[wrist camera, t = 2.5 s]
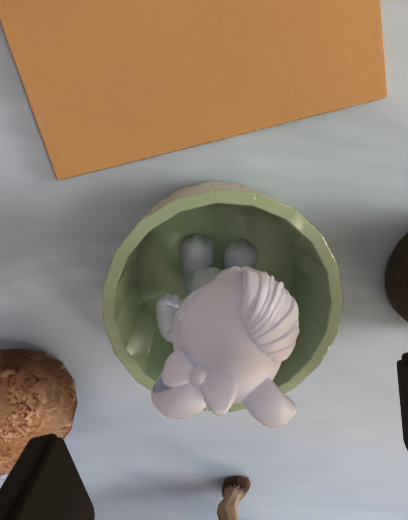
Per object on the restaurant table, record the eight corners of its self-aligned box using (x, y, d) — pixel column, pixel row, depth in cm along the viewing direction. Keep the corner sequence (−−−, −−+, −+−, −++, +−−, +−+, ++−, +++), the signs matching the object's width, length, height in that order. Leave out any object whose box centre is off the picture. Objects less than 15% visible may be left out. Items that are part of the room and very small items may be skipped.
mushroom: (18, 493, 23) (-32, 528, 17) (-48, 407, 25) (-115, 413, 19) (108, 402, 26) (91, 407, 20) (43, 329, 27) (9, 313, 21)
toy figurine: (275, 230, 22) (367, 311, 10) (259, 320, 23) (320, 476, 12) (168, 217, 21) (135, 286, 10) (159, 310, 23) (123, 461, 11)
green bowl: (286, 161, 21) (325, 161, 14) (313, 326, 24) (354, 385, 18) (105, 206, 21) (67, 225, 15) (156, 362, 24) (142, 431, 18)
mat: (363, -165, 16) (367, -173, 16) (383, 97, 20) (387, 96, 19) (-23, -53, 17) (-28, -58, 17) (59, 180, 21) (57, 180, 20)
